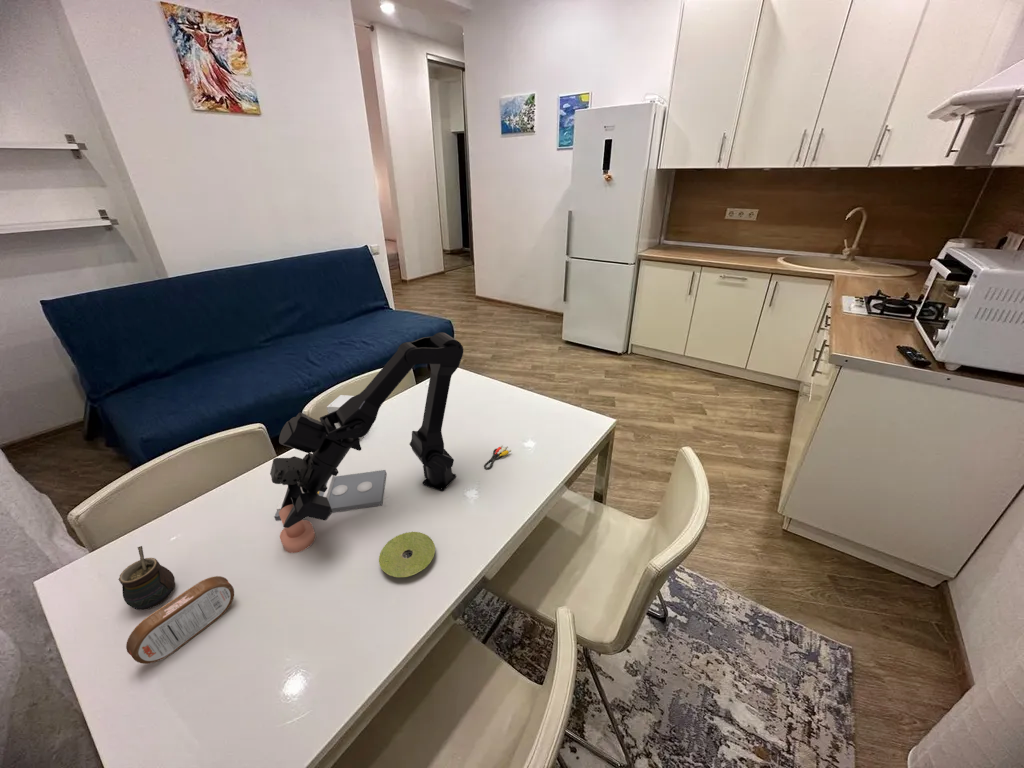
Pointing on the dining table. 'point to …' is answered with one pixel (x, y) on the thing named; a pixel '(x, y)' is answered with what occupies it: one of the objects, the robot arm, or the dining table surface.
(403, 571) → the green disc
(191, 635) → the tin
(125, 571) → the mate gourd
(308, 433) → the robot arm
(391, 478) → the dining table surface
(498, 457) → the composite cable
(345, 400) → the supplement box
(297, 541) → the pink flanged peg
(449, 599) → the dining table surface
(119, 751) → the dining table surface
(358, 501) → the station board
